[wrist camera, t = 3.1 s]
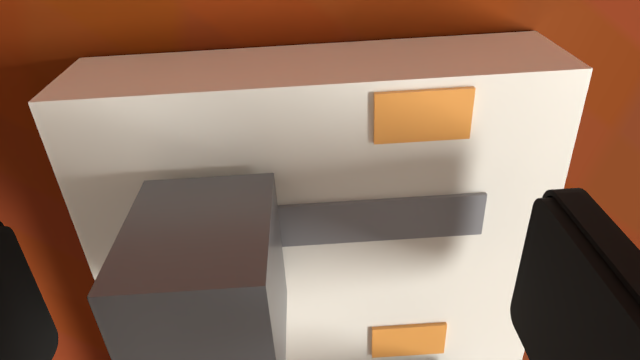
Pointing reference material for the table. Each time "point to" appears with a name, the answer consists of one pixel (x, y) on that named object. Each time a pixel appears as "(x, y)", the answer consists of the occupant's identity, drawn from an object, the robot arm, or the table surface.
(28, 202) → the table surface
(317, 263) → the switch box
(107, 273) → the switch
